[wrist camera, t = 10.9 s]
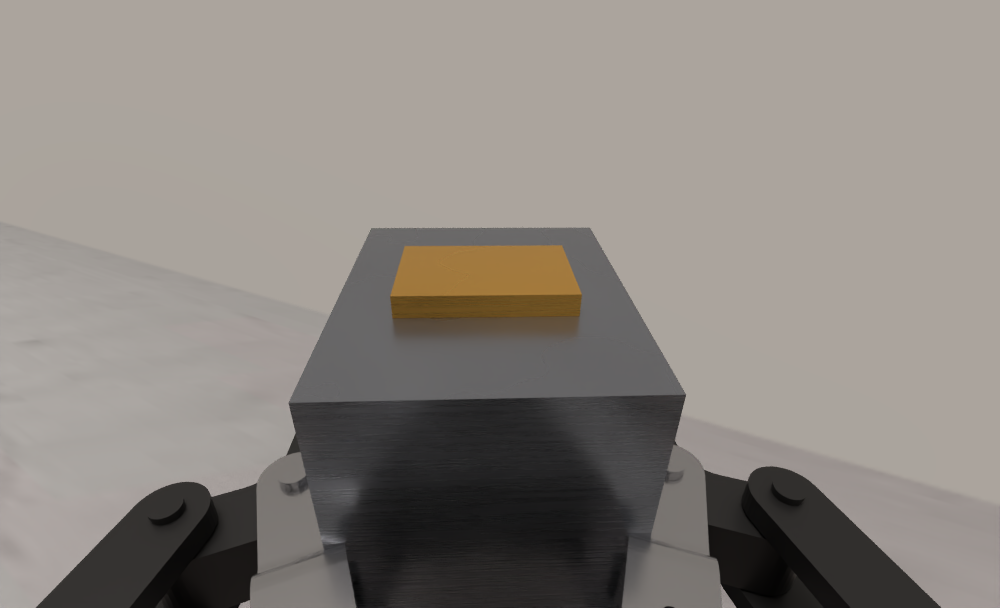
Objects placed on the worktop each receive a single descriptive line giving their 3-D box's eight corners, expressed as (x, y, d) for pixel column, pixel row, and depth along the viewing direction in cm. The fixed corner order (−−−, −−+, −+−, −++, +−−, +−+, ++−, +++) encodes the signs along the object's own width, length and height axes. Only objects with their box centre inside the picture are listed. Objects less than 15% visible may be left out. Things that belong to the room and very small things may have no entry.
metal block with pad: (598, 744, 11) (692, 369, 6) (373, 757, 11) (282, 376, 6) (558, 516, 17) (591, 211, 12) (404, 521, 16) (369, 211, 11)
